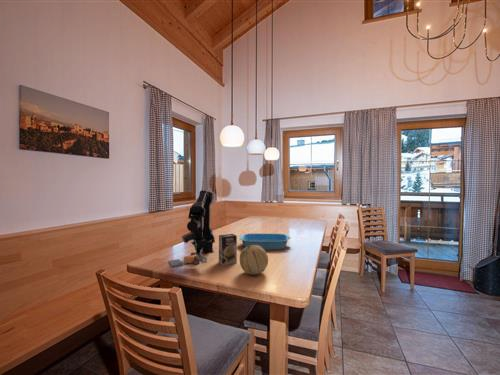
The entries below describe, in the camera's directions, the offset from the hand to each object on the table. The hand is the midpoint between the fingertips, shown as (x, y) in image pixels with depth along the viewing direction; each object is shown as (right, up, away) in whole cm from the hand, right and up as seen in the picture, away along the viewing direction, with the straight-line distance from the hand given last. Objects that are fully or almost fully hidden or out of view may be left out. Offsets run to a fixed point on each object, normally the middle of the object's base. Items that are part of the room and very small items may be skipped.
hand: (197, 255), depth 133 cm
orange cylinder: (-4, -6, +5) cm, 8 cm away
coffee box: (+17, -6, +3) cm, 18 cm away
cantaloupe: (+31, -6, -12) cm, 34 cm away
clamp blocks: (-3, -5, +5) cm, 8 cm away
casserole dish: (+40, -5, +37) cm, 55 cm away
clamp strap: (+3, -1, -5) cm, 6 cm away
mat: (-13, -6, +2) cm, 14 cm away
